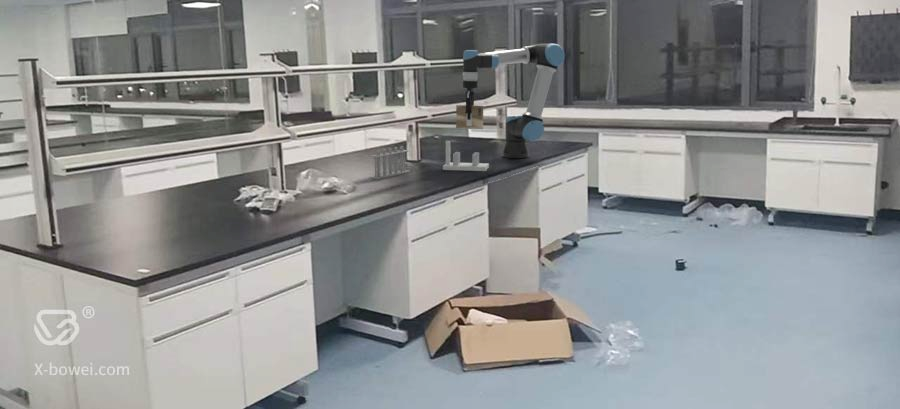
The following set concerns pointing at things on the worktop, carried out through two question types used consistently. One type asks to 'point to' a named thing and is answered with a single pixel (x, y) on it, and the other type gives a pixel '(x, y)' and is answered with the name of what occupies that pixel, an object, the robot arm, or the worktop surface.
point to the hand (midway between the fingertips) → (469, 125)
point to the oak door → (476, 117)
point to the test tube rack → (390, 163)
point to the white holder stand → (463, 166)
